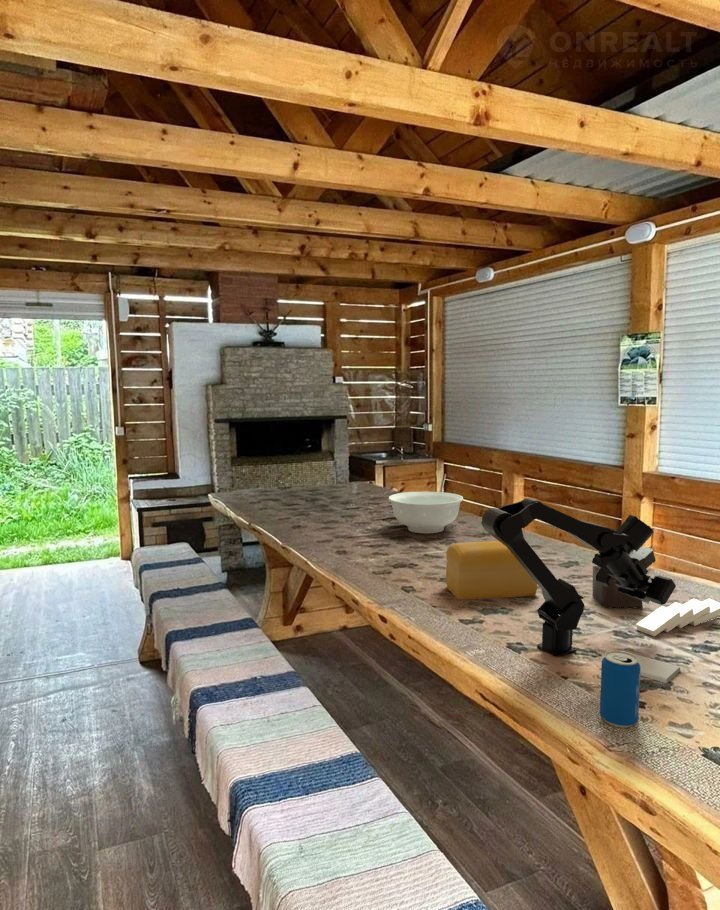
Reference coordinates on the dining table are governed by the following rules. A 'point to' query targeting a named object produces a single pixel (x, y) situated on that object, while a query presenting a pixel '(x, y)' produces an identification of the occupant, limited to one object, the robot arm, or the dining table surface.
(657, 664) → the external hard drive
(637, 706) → the beverage can
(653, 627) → the domino
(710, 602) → the domino
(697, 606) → the domino
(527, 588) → the bread
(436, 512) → the bowl
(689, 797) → the dining table surface
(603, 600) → the dark brown boxy piece
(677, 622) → the domino
